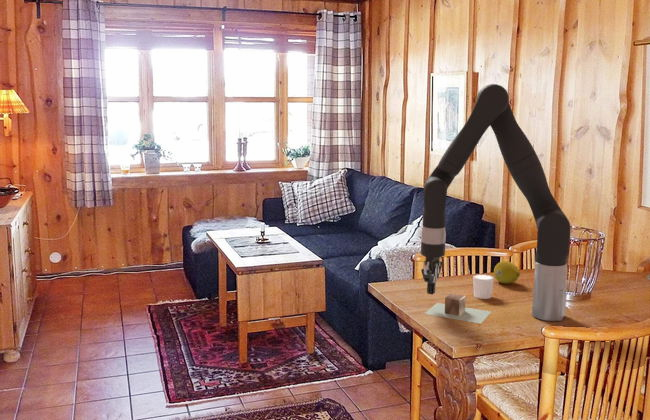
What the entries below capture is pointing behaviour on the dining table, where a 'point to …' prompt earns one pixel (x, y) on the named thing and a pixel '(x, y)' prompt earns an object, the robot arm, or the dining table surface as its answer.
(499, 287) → the dining table surface
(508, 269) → the lemon
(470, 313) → the rubber mat
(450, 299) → the copper block
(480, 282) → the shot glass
